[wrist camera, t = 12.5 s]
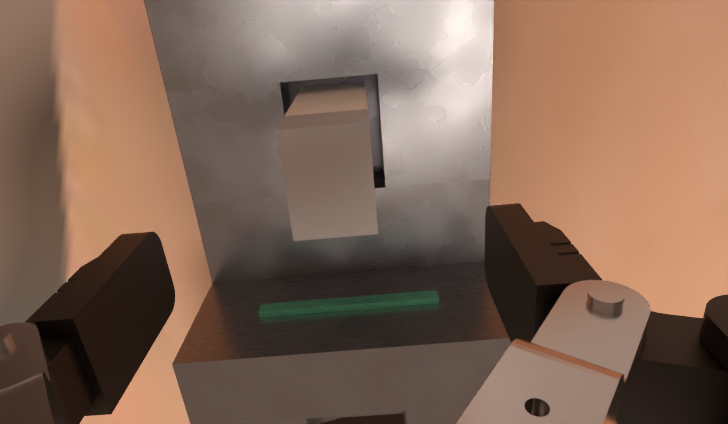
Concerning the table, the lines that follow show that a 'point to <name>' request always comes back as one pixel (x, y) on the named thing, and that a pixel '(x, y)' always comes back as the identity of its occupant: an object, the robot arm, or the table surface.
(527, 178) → the table surface
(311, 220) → the plug
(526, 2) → the table surface
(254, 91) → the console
